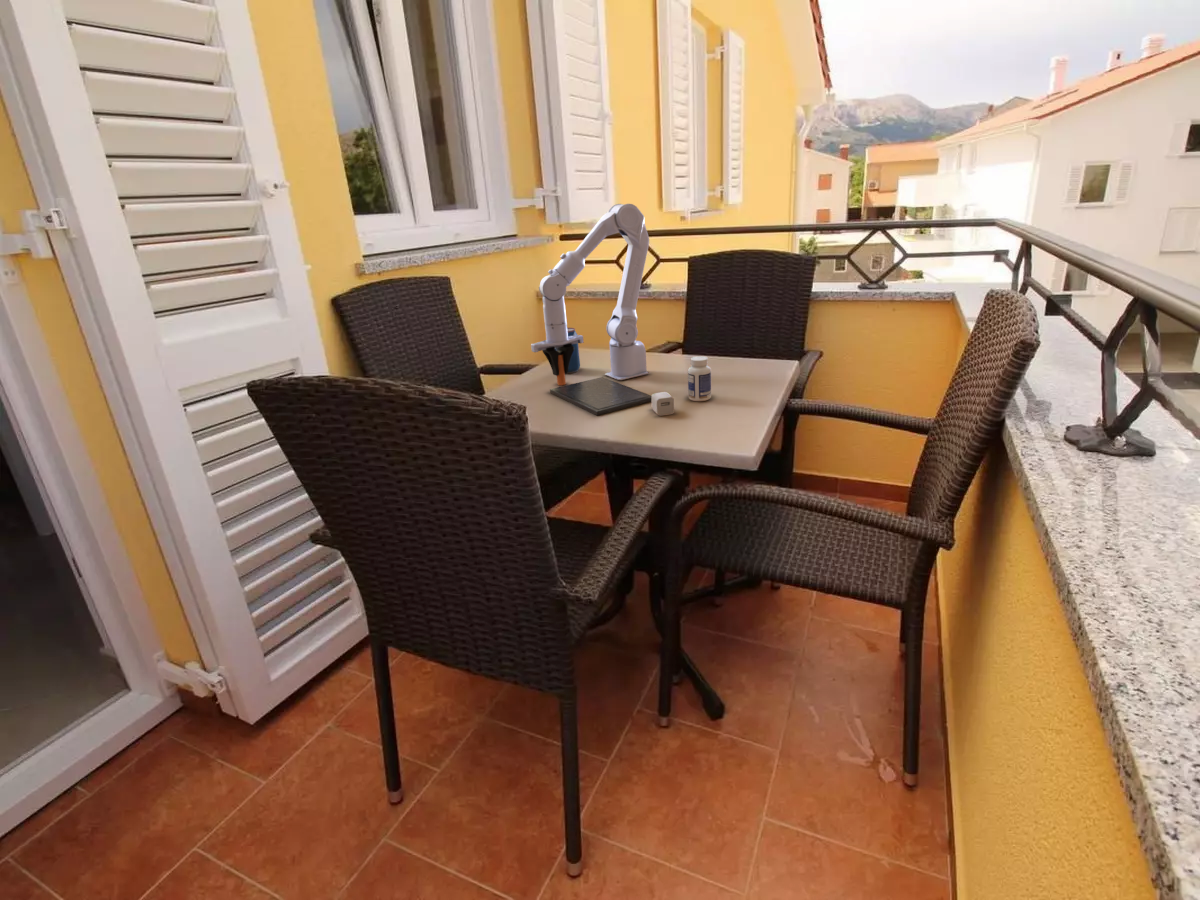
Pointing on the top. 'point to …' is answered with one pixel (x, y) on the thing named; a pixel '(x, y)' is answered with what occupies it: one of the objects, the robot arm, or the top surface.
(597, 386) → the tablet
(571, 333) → the soda can
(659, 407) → the usb wall charger
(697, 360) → the pill bottle
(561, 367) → the orange marker
